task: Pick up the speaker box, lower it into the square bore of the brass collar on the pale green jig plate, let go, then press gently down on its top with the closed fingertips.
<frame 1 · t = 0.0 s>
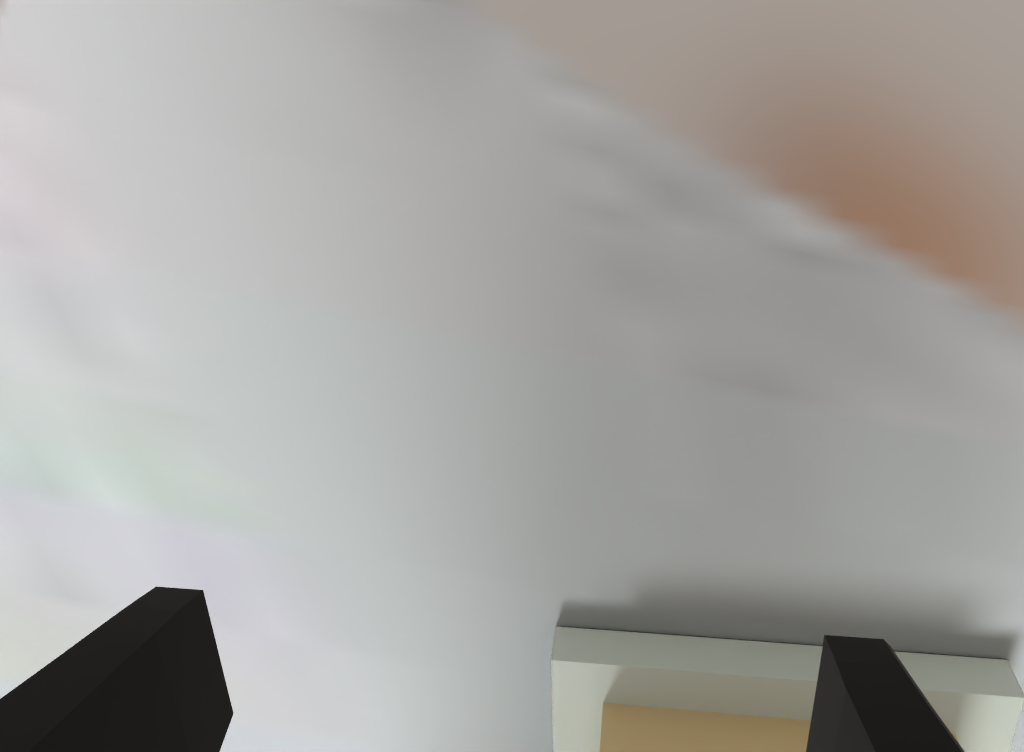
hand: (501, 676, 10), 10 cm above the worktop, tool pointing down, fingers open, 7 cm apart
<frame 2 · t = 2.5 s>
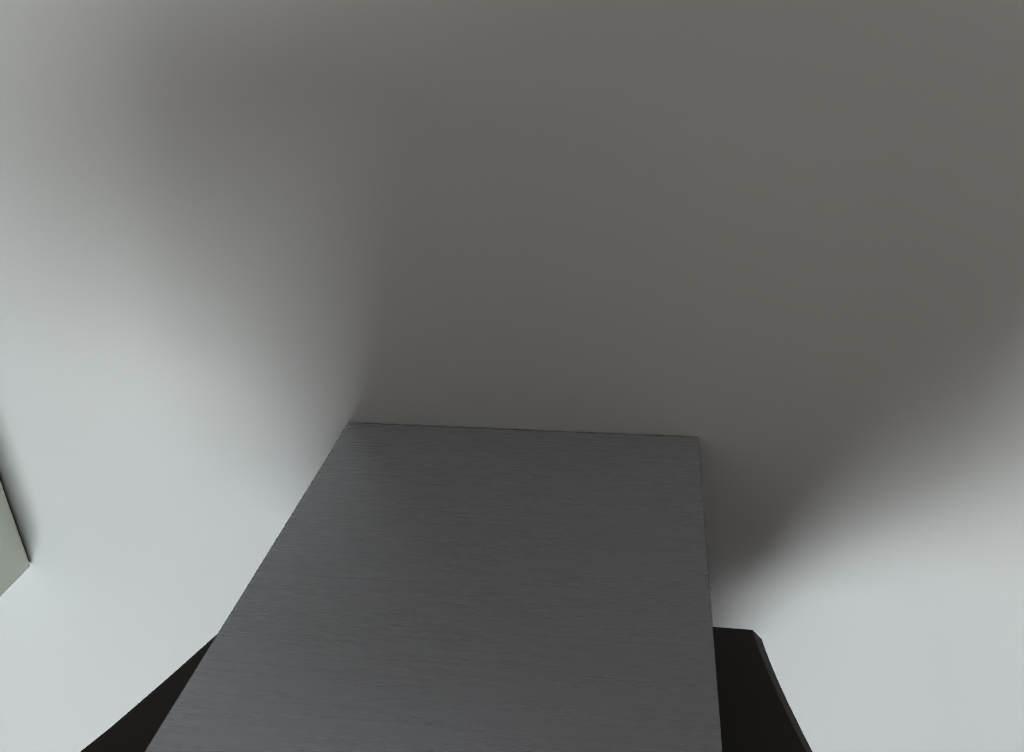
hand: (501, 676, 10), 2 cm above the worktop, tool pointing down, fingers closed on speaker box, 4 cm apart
speaker box: (523, 569, 12), on the worktop, touching gripper
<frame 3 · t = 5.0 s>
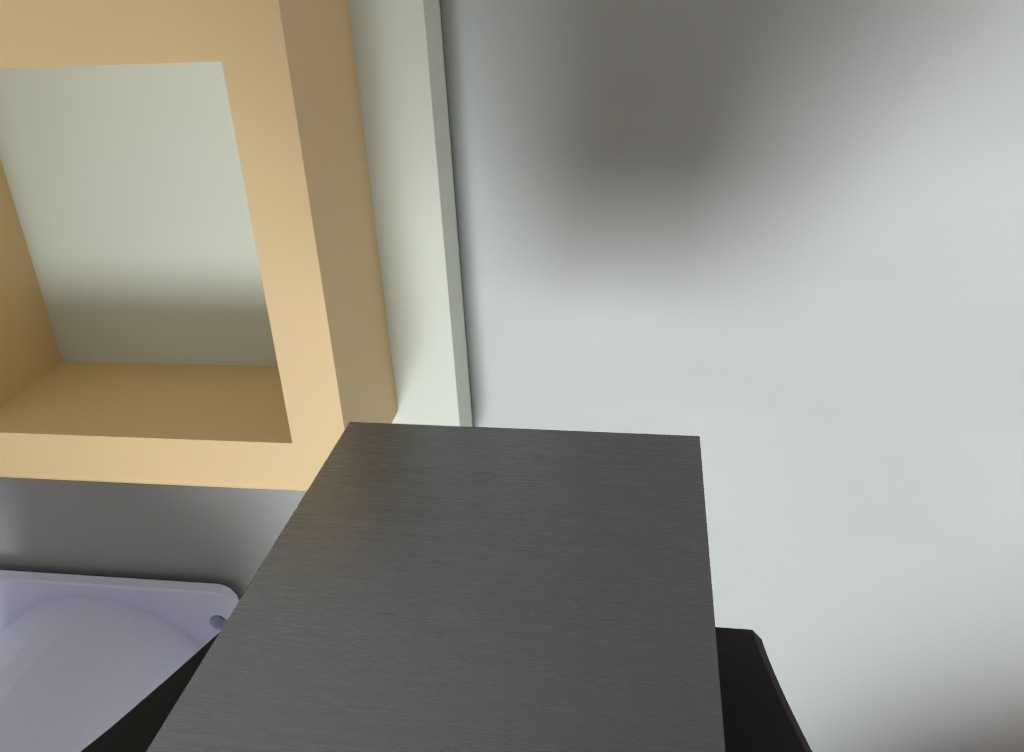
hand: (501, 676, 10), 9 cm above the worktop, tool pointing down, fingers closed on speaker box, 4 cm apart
speaker box: (524, 569, 12), point 7 cm above the worktop, touching gripper
jig: (194, 200, 18), on the worktop
when the fingers open (5 cm above the worktop, at t = 7.2 s): speaker box drops 2 cm, resting on jig.
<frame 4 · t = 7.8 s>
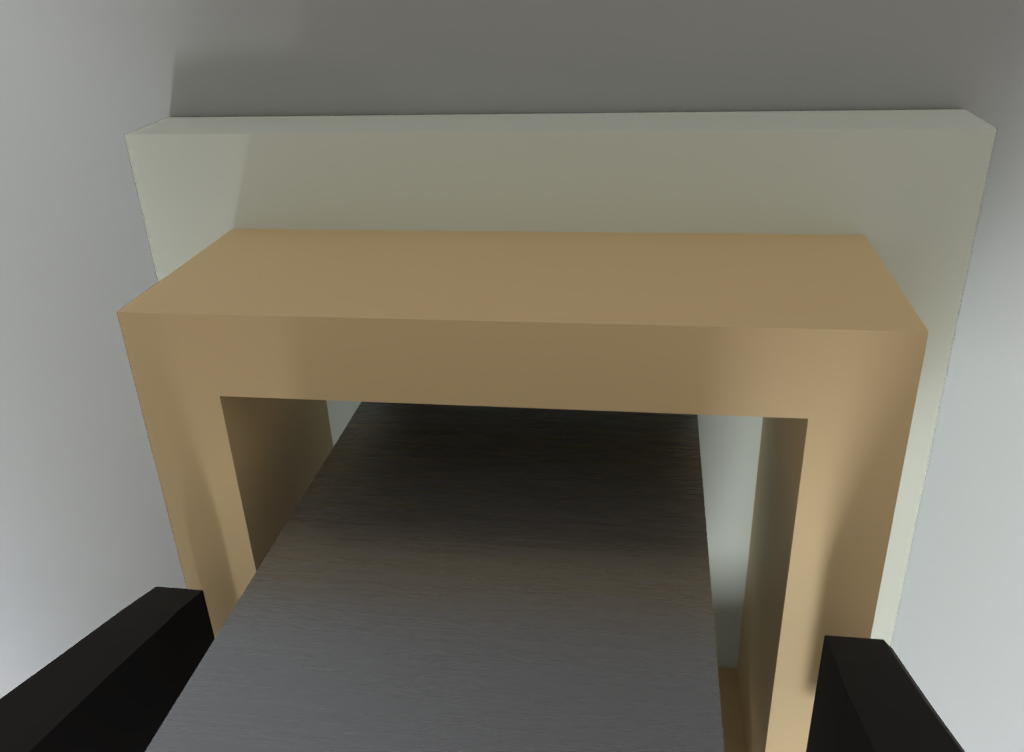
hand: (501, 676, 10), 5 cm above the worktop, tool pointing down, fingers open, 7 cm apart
speaker box: (539, 494, 14), point 1 cm above the worktop, touching jig
jig: (547, 454, 15), on the worktop
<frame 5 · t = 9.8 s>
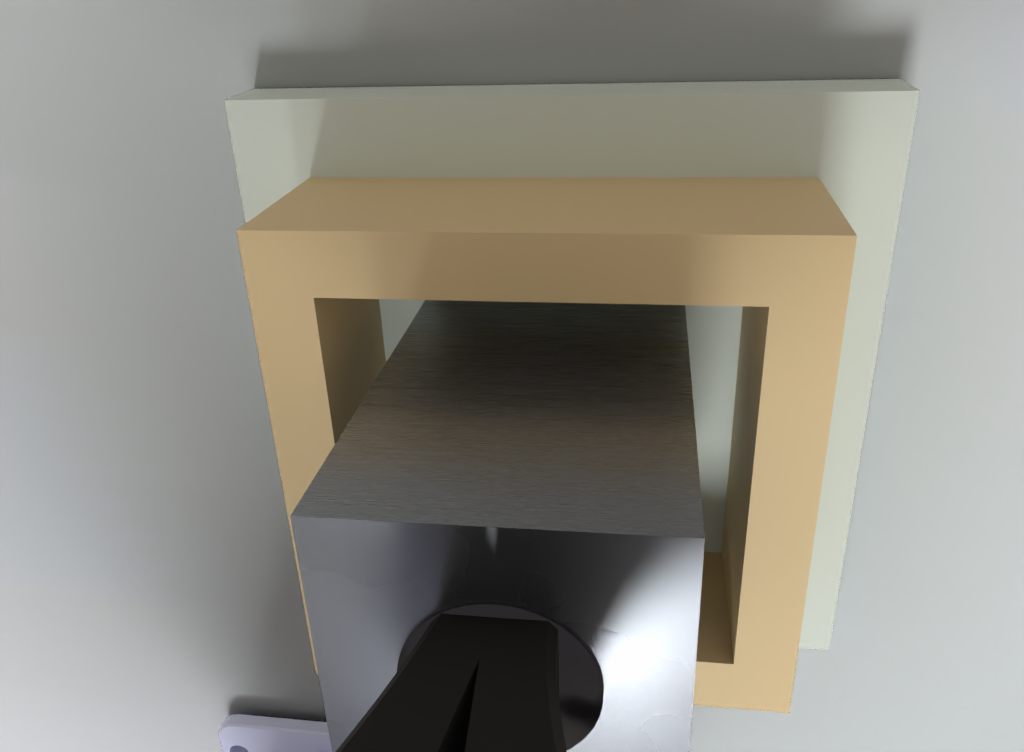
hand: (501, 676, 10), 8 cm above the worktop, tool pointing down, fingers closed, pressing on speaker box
speaker box: (557, 401, 16), point 1 cm above the worktop, touching gripper, jig
jig: (562, 374, 18), on the worktop
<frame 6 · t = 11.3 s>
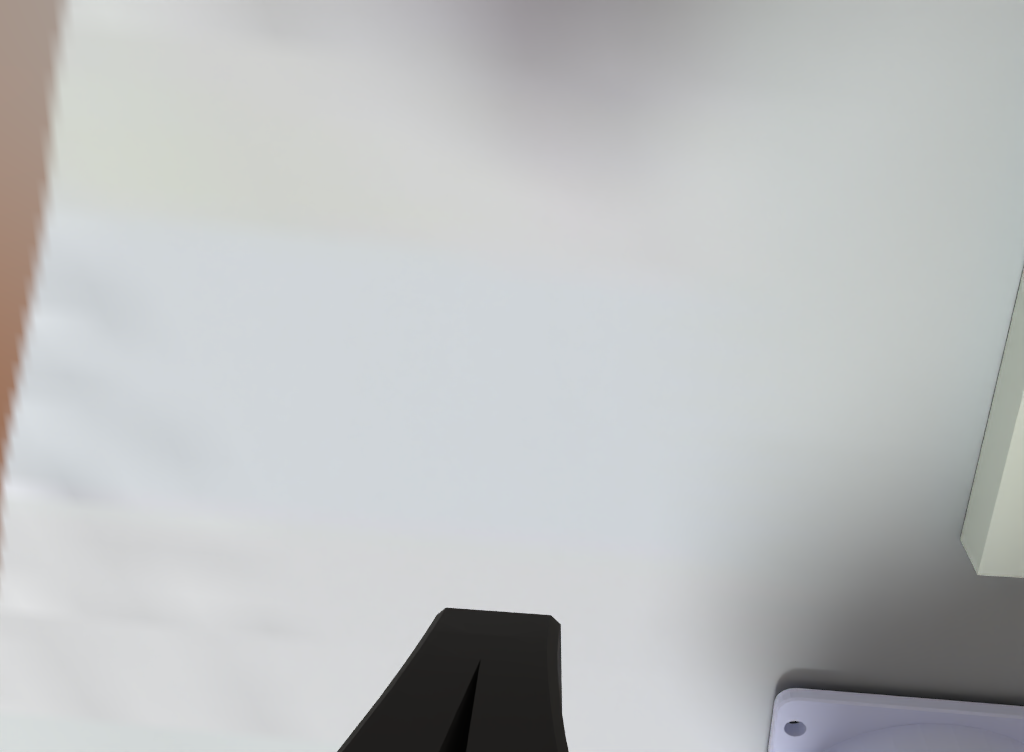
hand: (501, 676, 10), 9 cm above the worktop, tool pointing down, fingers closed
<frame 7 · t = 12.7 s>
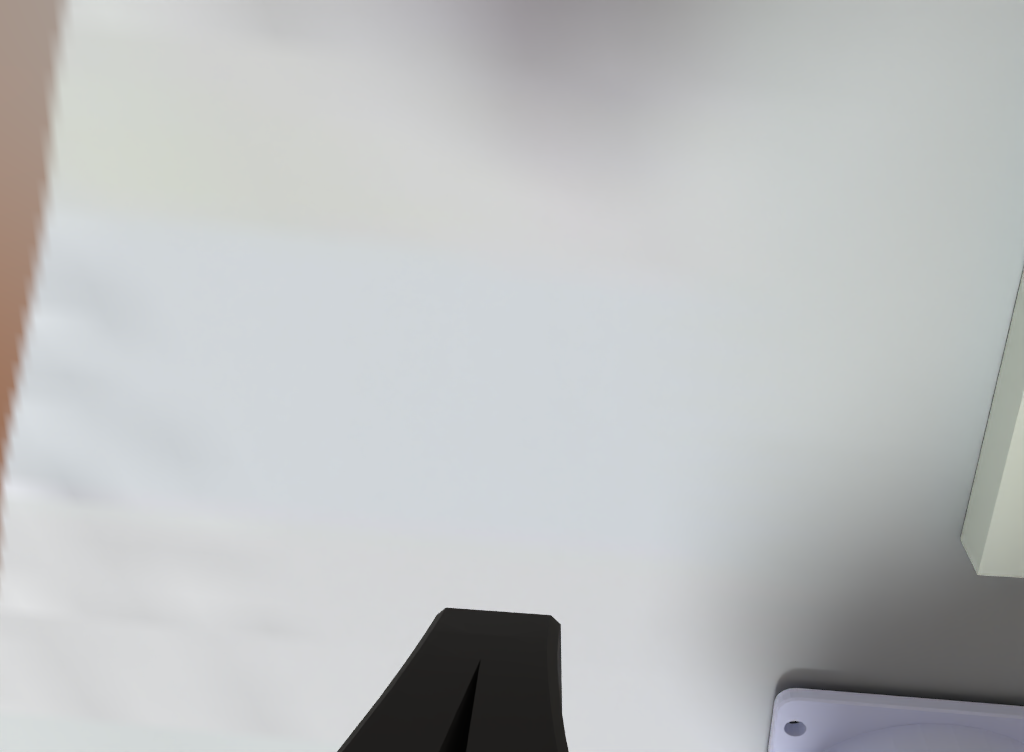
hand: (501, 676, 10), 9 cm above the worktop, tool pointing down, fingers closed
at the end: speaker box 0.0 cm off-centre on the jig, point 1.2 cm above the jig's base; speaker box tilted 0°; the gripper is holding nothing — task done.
